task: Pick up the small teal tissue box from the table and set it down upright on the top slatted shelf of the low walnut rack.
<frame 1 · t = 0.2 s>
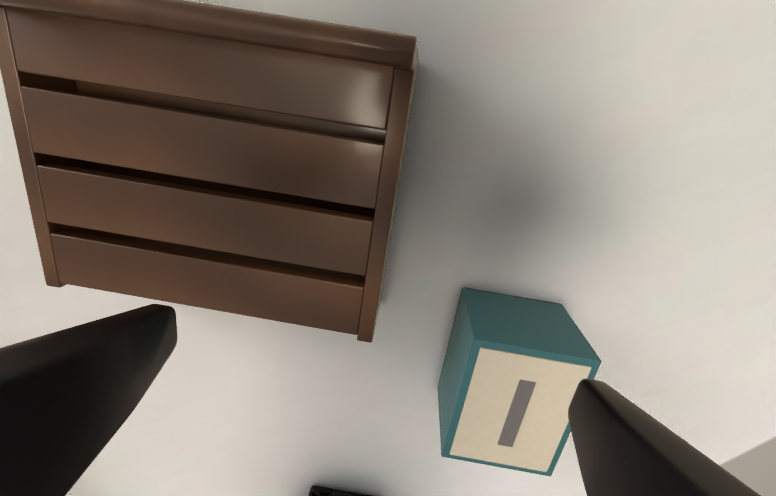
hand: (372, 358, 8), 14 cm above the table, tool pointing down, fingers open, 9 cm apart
rack: (244, 170, 22), on the table
tissue box: (495, 348, 25), on the table
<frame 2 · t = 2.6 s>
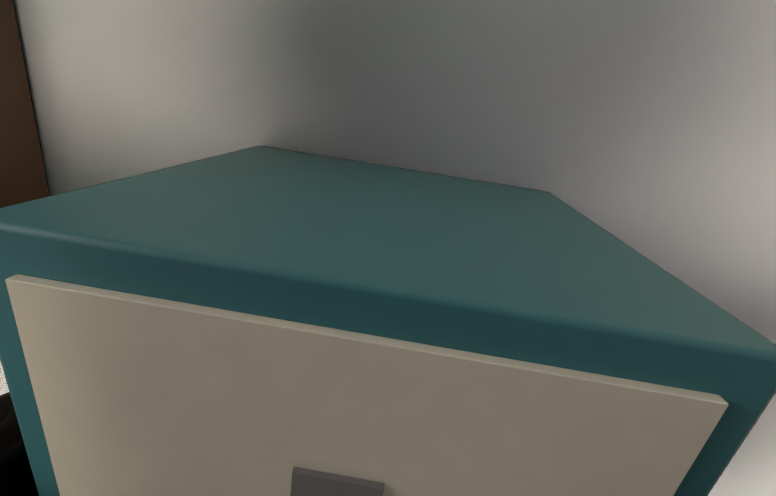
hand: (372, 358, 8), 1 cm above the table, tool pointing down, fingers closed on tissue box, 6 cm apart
tissue box: (377, 329, 9), on the table, touching gripper
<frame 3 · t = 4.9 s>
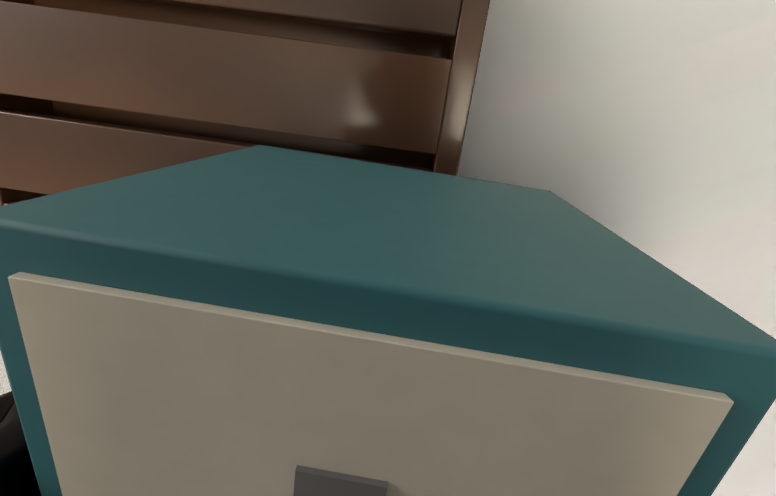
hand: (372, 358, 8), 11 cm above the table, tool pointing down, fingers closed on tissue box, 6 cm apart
rack: (254, 125, 17), on the table
tissue box: (378, 328, 9), point 10 cm above the table, touching gripper
when the fingers open (6 cm above the table, at t = 7.4 s): tissue box stays where it is, resting on rack.
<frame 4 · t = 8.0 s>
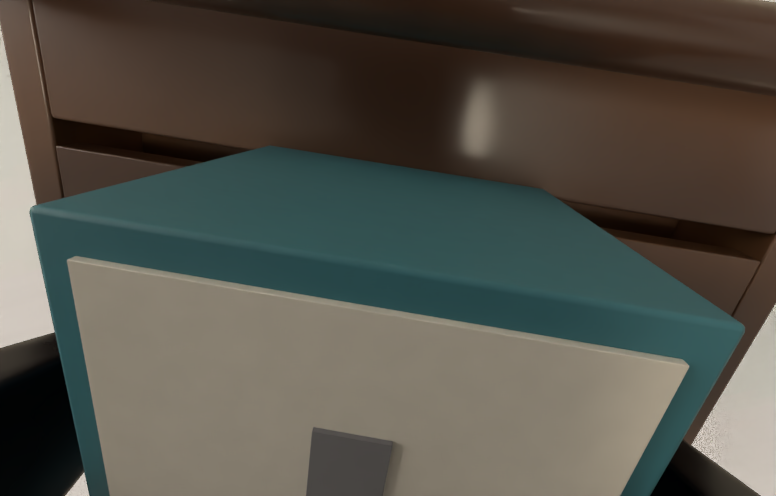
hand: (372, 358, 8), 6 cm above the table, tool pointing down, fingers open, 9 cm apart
rack: (392, 256, 14), on the table
tissue box: (380, 320, 10), point 4 cm above the table, touching rack
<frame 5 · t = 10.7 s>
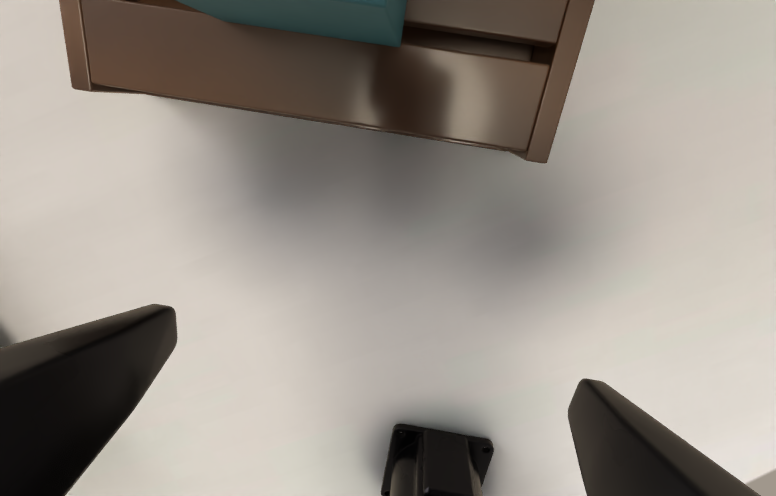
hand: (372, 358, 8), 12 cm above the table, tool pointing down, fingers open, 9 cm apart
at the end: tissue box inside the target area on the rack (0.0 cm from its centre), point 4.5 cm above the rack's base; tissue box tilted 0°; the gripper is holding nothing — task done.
